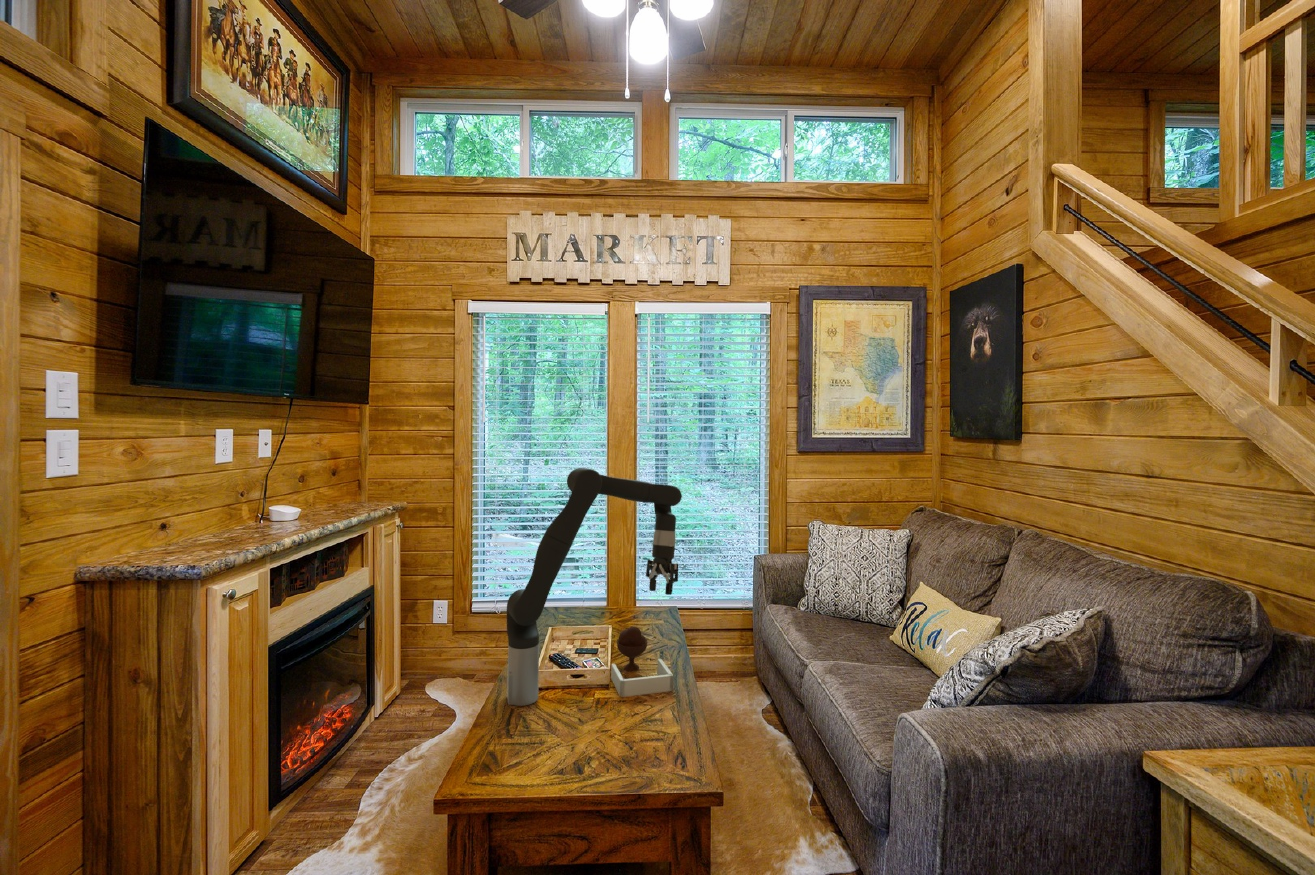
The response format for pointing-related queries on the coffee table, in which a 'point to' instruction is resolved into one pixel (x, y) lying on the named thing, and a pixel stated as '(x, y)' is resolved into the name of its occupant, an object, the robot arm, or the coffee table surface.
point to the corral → (643, 682)
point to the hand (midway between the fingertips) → (660, 592)
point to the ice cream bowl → (631, 646)
